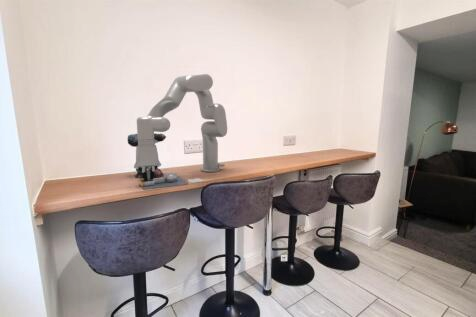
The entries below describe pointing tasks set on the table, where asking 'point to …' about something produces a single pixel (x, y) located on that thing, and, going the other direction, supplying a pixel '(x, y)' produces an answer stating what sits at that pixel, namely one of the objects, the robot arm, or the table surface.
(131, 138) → the power drill
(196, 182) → the pad
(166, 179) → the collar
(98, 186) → the table surface
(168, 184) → the board
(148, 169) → the key
